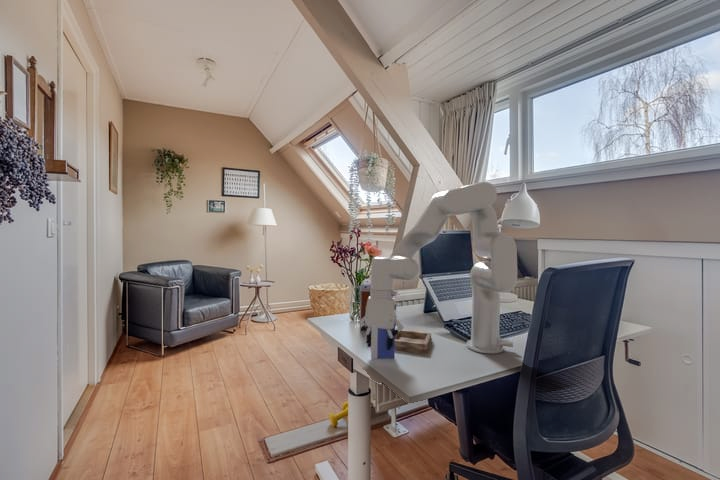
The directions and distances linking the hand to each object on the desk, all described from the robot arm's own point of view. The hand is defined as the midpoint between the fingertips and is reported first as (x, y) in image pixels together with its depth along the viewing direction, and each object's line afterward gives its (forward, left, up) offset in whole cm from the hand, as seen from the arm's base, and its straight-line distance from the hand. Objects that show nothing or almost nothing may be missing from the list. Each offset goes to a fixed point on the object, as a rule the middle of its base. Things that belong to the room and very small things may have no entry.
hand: (379, 346), depth 112 cm
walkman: (-1, 0, -4) cm, 4 cm away
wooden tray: (-8, -15, -3) cm, 17 cm away
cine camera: (+14, -34, -4) cm, 37 cm away
